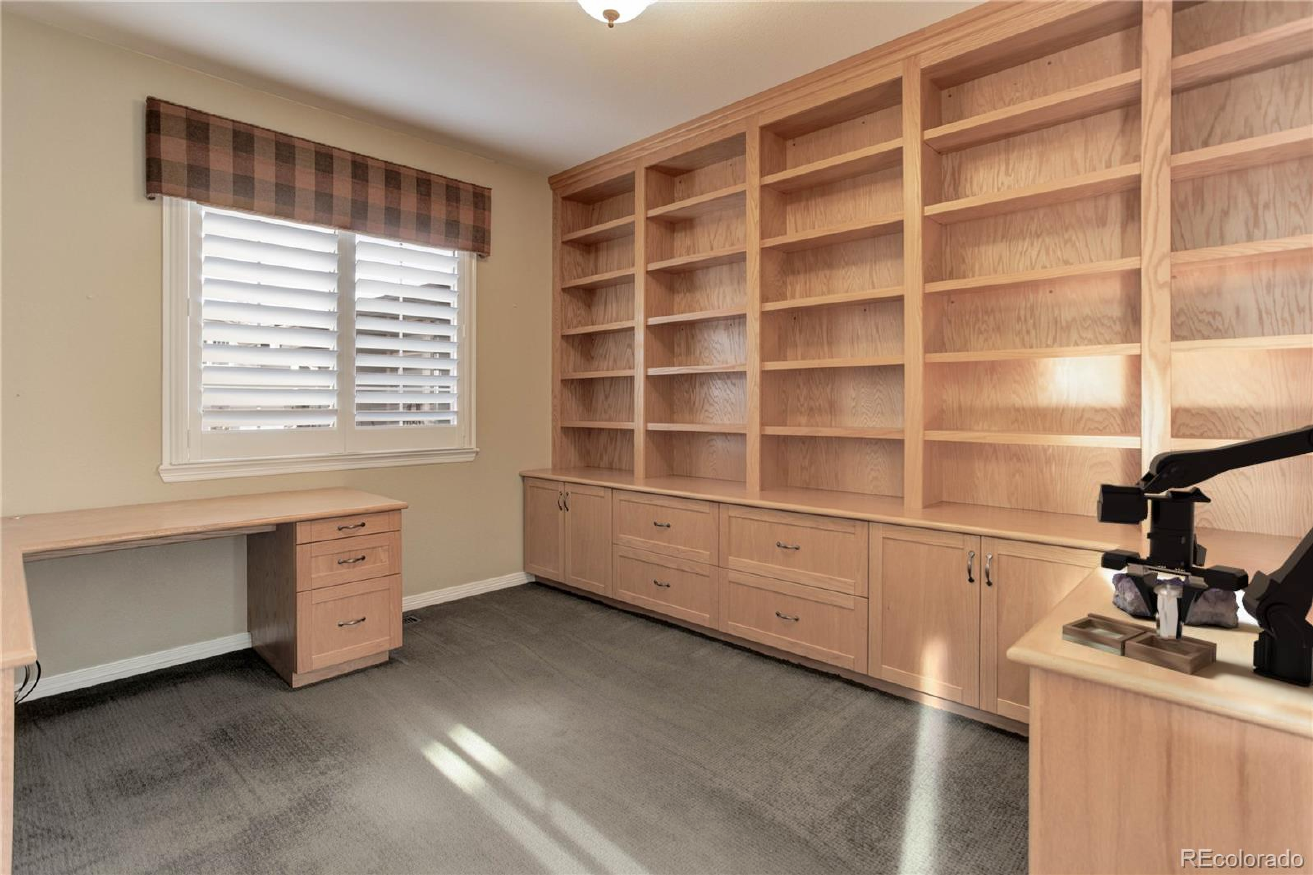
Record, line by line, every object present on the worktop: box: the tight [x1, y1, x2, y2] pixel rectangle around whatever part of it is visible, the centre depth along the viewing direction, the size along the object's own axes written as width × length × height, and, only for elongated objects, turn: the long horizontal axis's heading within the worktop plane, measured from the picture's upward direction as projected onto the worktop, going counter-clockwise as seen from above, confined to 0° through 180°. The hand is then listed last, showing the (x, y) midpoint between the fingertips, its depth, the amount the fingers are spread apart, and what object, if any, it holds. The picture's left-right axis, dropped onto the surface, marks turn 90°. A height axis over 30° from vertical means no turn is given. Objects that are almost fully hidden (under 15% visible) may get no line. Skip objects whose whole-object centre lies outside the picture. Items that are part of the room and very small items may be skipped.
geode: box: [1111, 572, 1241, 630], centre depth 130 cm, size 20×12×10 cm, turn 60°
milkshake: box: [1154, 584, 1185, 643], centre depth 108 cm, size 4×5×10 cm
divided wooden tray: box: [1061, 612, 1218, 675], centre depth 113 cm, size 19×11×3 cm, turn 32°
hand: (1168, 619), depth 108 cm, fingers closed on milkshake, 4 cm apart
